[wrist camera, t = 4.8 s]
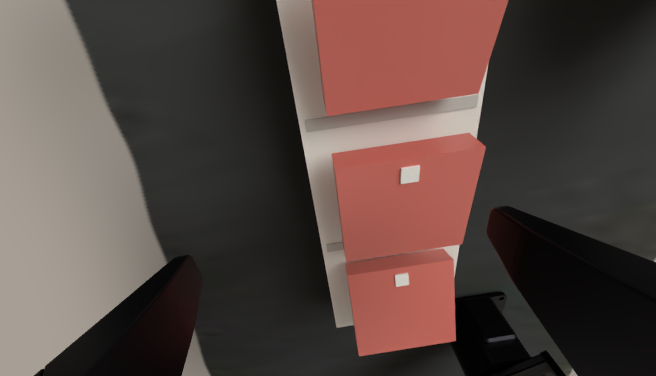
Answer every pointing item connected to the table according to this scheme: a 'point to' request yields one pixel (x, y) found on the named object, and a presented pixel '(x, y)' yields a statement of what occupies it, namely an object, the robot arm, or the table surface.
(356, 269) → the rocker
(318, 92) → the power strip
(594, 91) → the table surface
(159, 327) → the robot arm
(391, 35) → the rocker
